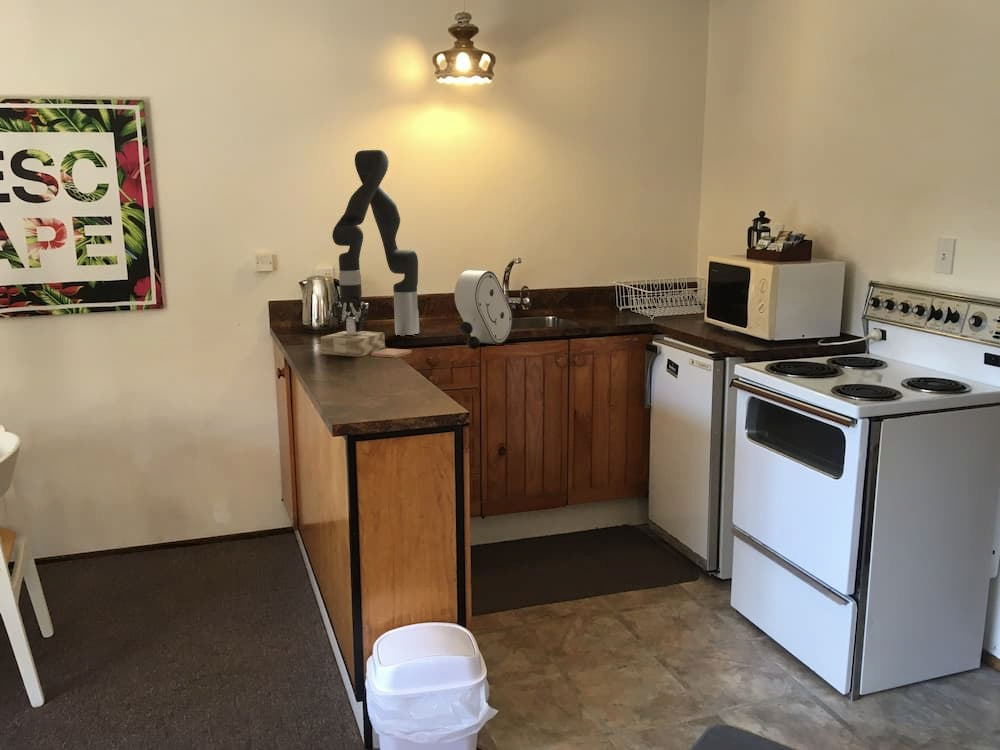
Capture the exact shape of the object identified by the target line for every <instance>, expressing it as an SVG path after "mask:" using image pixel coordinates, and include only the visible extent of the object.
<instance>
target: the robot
mask: <svg viewBox="0 0 1000 750" xmlns="http://www.w3.org/2000/svg"><path fill="white" fill-rule="evenodd" d="M454 303H455V307H456V309H457V312H458V313H459V315H460V317H461V319H462V322H461V323H460V324H459V326H458V329H459V332H460V333H461V334H463V335H464V336H467V335H469V337H468V338H466V339H467V340H466V346H467V347H468V348H470V349H471V350H475V349H478V348H479V347H480V345H481V344H487V345H488V344H489V345H502V344H504V343H505V342H506V341H507V340H508V338H509V336H510V334H511V331H512V327H513V311H512V309H511V305H510V303H509V301H508V299H507V297H506V295H505V292H504V290H503V288H502V286H501V283H500V280H499V279H498V277H497V276H496V274H495V273H494V272H493V271H490V270H473V269H469V270H465V271H463V272H461V274H460V276H459V277H458V279H457V281H456V283H455V287H454Z"/></svg>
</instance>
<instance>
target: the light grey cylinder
mask: <svg viewBox="0 0 1000 750" xmlns="http://www.w3.org/2000/svg"><path fill="white" fill-rule="evenodd" d="M346 330H347V336H358V335H359V332H356V319H355V316H349V317H348V318H346Z"/></svg>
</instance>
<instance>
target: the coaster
mask: <svg viewBox="0 0 1000 750" xmlns="http://www.w3.org/2000/svg"><path fill="white" fill-rule="evenodd" d="M409 354H412V349H403V348H401V349H400V348H391V347H390V348H385V349H383V350H380V351H377V352H373V353H370V355H371V357H383V358H395V359H397V358H400V357H403V356H407V355H409Z"/></svg>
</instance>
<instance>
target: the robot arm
mask: <svg viewBox="0 0 1000 750" xmlns="http://www.w3.org/2000/svg"><path fill="white" fill-rule="evenodd" d="M389 164H390V162H389V156H388V154H387V153H386V152H385V151H384V150H383V149H366V150H365V149H364V150H363V149H362V150H359V151H357V152H356V153H355V155H354V166H355V170H356V173H357V175H358V177H359V180H360V182H361V185H360V186H359V187H358V188H357V189H356V190H355V191H354V192H353V194H352V195H351V196H350V198H349V201H348V202H347V206H346V209H345V211H344V214H343V215H342V216H341V217H340V219H339V220H338V221H337V223H336V224H335V226H334V227H333V230H332V240H333V243H334V244H335V245H337V246H340V247H341V246H342V247H349V248H348V251H347V252H346V251H345V252H343V253H340V254H339V256H338V266H339V268H338V269H339V273H338V281H339V296H340V301H336V302H333V307H334V310H335V313H336V316H337V318H338V319H339V320H342V328H343V331H347V330H346V318H348V317H350V315H351V313H352V315H353V317H355V319H356V332H360V331H363V320H366V319H367V318H368V314H369V313H368V312H369V308H370V303H369V302H363V299H362V276H361V270H360V268H361V267H360V255H361V250H362V246H363V242H364V232H363V230H362V228H361V227H360V226H359V225H362V224H363V223H364V221H365V217H366V215H367V213H368V210H369V206H370V207H371V211H372V214H373V217H374V221H375V223H376V226H377V229H378V232H379V235H380V239H381V240H382V244H383V245H382V246H383V250H384V254H385V259H386V263H387V266H388V268H389V270H390V272H391V273H393V274H396V275H397V274H398V275H404V277H403V279H402V280H400V281H399V282H396V283H394V284H393V290H392V292H393V309H394V311H393V313H394V314H393V315H394V333H395V334H396V335H395V336H397V335H400V336H399V337H406V336H405V335H413V336H415V335H414V334H418V333H419V334H420V315H419V313H420V312H419V308H418V306H419V305H418V283H419V259H418V254H417V253H416V252H415V251H414V250H411V249H408V250H407V249H399V248H398V246H397V242H396V241H397V240H396V238H397V234H398V231H399V228H400V225H401V216H400V213H399V209H398V207H397V204H396V202H395V201H394V199H393V198H392V197H391V196H390V195H389V193H387V192H386V191H385V190H384V188H383V187H381V186H380V185H381V183H382V181H383V180H384V178H385V175H386V173H387V172H388V168H389ZM419 334H418V335H419Z"/></svg>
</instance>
